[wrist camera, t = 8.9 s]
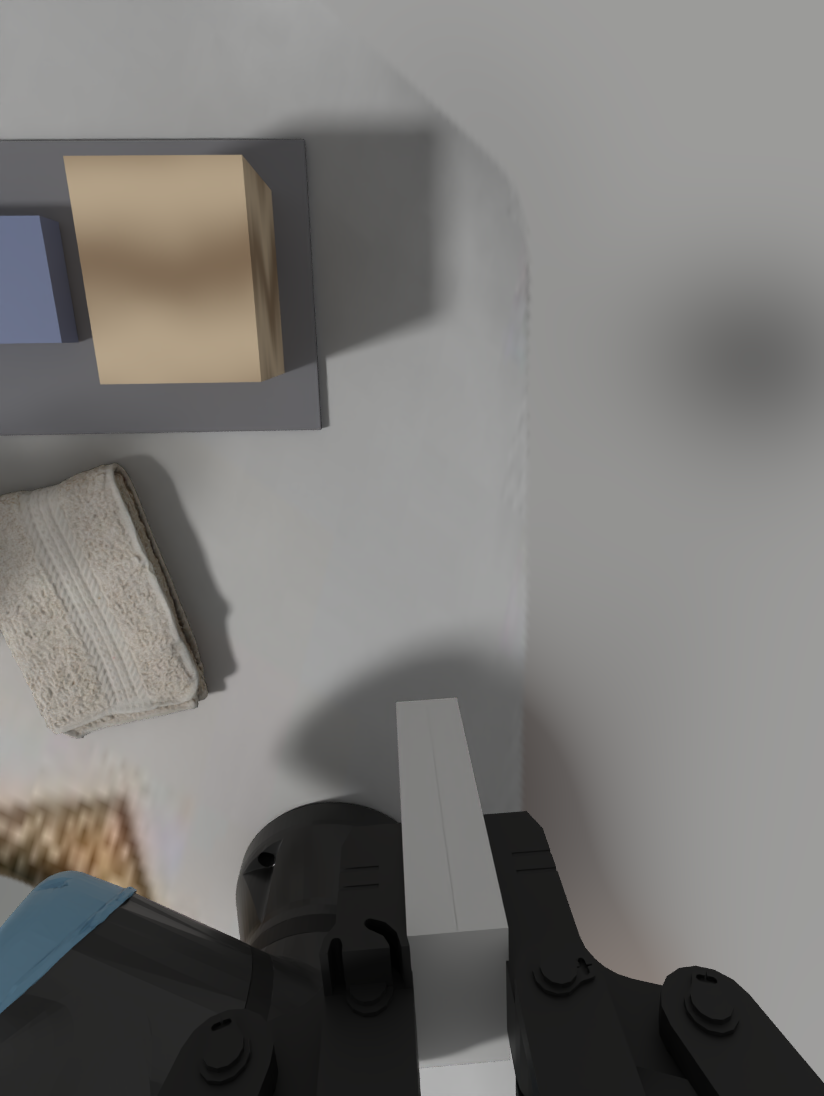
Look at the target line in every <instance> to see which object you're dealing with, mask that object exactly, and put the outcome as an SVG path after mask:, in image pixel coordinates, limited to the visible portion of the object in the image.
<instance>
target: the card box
mask: <svg viewBox="0 0 824 1096" xmlns="http://www.w3.org/2000/svg"><path fill="white" fill-rule="evenodd" d="M75 342H79V340H78V334H77V329H76V323H75V317H74V311H73V305H72V299H71V293H70V287H69V281H68V275H67V269H66V264H65V258H64V252H63V246H62V240H61V234H60V228H59V222H57V221H54V220H51V219H48V218H45V217H42V216H0V344H12V343H75Z"/></svg>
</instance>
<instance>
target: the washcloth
mask: <svg viewBox="0 0 824 1096" xmlns="http://www.w3.org/2000/svg"><path fill="white" fill-rule="evenodd" d="M0 630H1V632H2V633H3V636H4V637H5V639H6V643H7V645H8V646H9V647H10V650H11V651H12V655H13V657H14V658H15V659H16V662H17V664H18V665H19V667H20V669H21V670H22V672H23V675H24V678H25V679H26V683H27V684H28V685H29V688H30V689H31V690H32V691H33V693H32V695H33V696H34V699H35V702H36V703H37V708H39V709H40V713H41V716H43V717H44V719H45V722H46V724H47V727H49V728H50V729H51V730H52V731H53V732H54V733H55V734H61V733H63V734H65V735H67V736H70V737H72V738H76V739H78V738H84V736H85V735H87V734H89V733H90V732H92V731H96V730H100V729H103V728H106V727H110V726H116V725H122V724H125V723H130V722H135V721H139V720H144V719H149V718H154V717H159V716H163V715H168V714H171V713H175V712H180V711H184V710H188V709H195V708H197V707H198V701H200V700H204V699H205V698H206V697H207V696H208V690H207V685H206V683H205V681H204V678H205V677H204V676H203V664H202V662H200V655H199V653H198V648H197V644H196V641H195V639H194V636H193V633H192V631H191V628H190V626H189V623H188V621H187V618H186V615H185V613H184V611H183V608H182V606H181V603H180V601H179V598H178V595H177V593H176V590H175V588H174V585H173V582H172V580H171V577H170V575H169V572H168V570H167V568H166V565H165V563H164V561H163V558H162V556H161V553H160V551H159V548H158V546H157V544H156V541H155V539H154V537H153V535H152V532H151V529H150V526H149V524H148V522H147V519H146V517H145V513H144V511H143V508H142V506H141V503H140V500H139V498H138V496H137V494H136V491H135V488H134V486H133V484H132V482H131V480H130V478H129V476H128V474H127V473H126V471H125V470H124V469H123V468H122V467H121V466H120V465H118V464H116V463H113V464H111V465H101V466H99V467H97V468H94V469H92V470H89V471H84V472H81V473H79V474H76V475H74V476H72V477H71V478H69V479H65V480H64V481H63V482H62V483H60V484H56V485H54V486H48V487H45V488H39V489H36V490H34V491H18V492H13V493H8V494H4V495H1V496H0Z"/></svg>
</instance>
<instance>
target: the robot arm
mask: <svg viewBox="0 0 824 1096" xmlns="http://www.w3.org/2000/svg"><path fill="white" fill-rule="evenodd" d="M396 716H397V737H398V758H399V779H400V800H401V821H402V823H397V822H396V821H394V820H393V819H391V818H389V817H388V816H386V815H384V814H382V813H380V812H377V811H375V810H372V809H369V808H366V807H362V806H358V805H353V804H345V803H322V804H314V805H309V806H305V807H301V808H298V809H295V810H292V811H290V812H287V813H285V814H283V815H281V816H280V817H278V818H276V819H275V820H273V821H272V822H270V823H269V824H268V825H266V826H265V827H264V828H263V829H262V830H261V831H260V832H259V833H258V834H257V835H256V837H255V838H254V839H253V841H252V842H251V844H250V845H249V847H248V849H247V851H246V853H245V856H244V859H243V863H242V866H241V870H240V874H239V877H238V882H237V888H236V906H237V915H238V924H239V934H240V940H238V939H236V938H234V937H231V936H229V935H227V934H225V933H222V932H220V931H218V930H216V929H214V928H211V927H209V926H207V925H205V924H202V923H200V922H198V921H196V920H194V919H191V918H189V917H187V916H185V915H183V914H180V913H178V912H176V911H174V910H171V909H169V908H167V907H165V906H163V905H160V904H158V903H156V902H154V901H151V900H149V899H147V898H145V897H143V896H140V895H138V894H136V891H137V890H136V889H134V888H133V887H127V888H122V887H120V886H117V885H114V884H112V883H109V882H106V881H104V880H101V879H99V878H96V877H93V876H91V875H88V874H85V873H83V872H78V871H64V872H60V873H57V874H54V875H52V876H50V877H48V878H47V879H45V880H44V881H42V882H41V883H40V884H39V885H37V886H36V887H35V888H34V889H33V890H32V891H31V893H30V894H29V895H28V896H27V897H26V898H25V899H24V900H23V902H22V903H21V904H20V905H19V906H18V907H17V908H16V910H15V911H14V912H13V913H12V914H11V915H10V917H9V918H8V919H7V920H6V921H5V923H4V924H3V925H2V926H1V927H0V1096H421V1092H420V1076H419V1068H430V1067H441V1066H452V1065H463V1064H473V1063H484V1062H495V1061H506V1060H510V1048H511V1054H512V1059H513V1064H514V1069H515V1075H516V1096H824V1083H823V1082H822V1080H821V1079H820V1078H819V1077H818V1076H817V1074H816V1073H815V1072H814V1071H813V1070H812V1069H811V1067H810V1066H809V1065H808V1064H807V1063H806V1061H805V1060H804V1059H803V1058H802V1057H801V1055H800V1054H799V1053H798V1052H797V1051H796V1049H795V1048H794V1047H793V1046H792V1045H791V1044H790V1043H789V1041H788V1040H787V1039H786V1038H785V1036H784V1035H783V1034H782V1033H781V1032H780V1031H779V1029H778V1028H777V1027H776V1026H775V1025H774V1023H773V1022H772V1021H771V1020H770V1019H769V1017H768V1016H767V1015H766V1014H765V1013H764V1011H763V1010H762V1009H761V1008H760V1007H759V1005H758V1004H757V1003H756V1002H755V1001H754V1000H753V998H752V997H751V996H750V995H749V994H748V993H747V992H746V991H745V990H744V989H743V988H742V987H741V986H739V985H738V984H737V983H736V982H735V981H734V980H733V979H731V978H729V977H727V976H725V975H723V974H721V973H719V972H717V971H716V970H713V969H708V968H703V967H699V966H691V967H683V968H679V969H677V970H676V971H674V972H673V973H671V974H670V975H668V976H667V978H666V979H665V982H664V984H663V986H662V985H658V984H653V983H649V982H644V981H640V980H635V979H631V978H628V977H625V976H622V975H619V974H617V973H615V972H613V971H611V970H609V969H608V968H606V967H604V966H603V965H602V964H601V963H599V962H598V961H597V960H596V959H595V958H594V957H593V956H592V955H591V954H590V953H589V951H588V950H587V949H586V948H585V946H584V944H583V942H582V940H581V938H580V936H579V933H578V930H577V927H576V924H575V922H574V918H573V915H572V913H571V910H570V907H569V904H568V901H567V898H566V895H565V892H564V889H563V886H562V883H561V880H560V877H559V875H558V872H557V871H556V866H555V863H554V860H553V857H552V854H551V853H550V848H549V845H548V842H547V840H546V837H545V834H544V831H543V828H542V827H540V825H539V824H538V823H537V822H536V821H535V820H534V819H533V818H532V817H531V816H530V815H529V813H528V812H527V811H523V812H510V813H498V814H485V815H483V812H482V808H481V803H480V799H479V794H478V790H477V786H476V781H475V777H474V772H473V768H472V763H471V759H470V754H469V750H468V745H467V741H466V736H465V732H464V727H463V723H462V719H461V714H460V710H459V705H458V701H457V697H455V698H442V699H429V700H415V701H402V702H396Z"/></svg>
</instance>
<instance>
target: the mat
mask: <svg viewBox="0 0 824 1096" xmlns="http://www.w3.org/2000/svg"><path fill="white" fill-rule="evenodd" d="M118 155H243V157H244V158H245V159H246V160H247V162H248V163H249V164H250V165H251V166H252V168H253V169H254V170H255V171H256V172H257V174H258V175H259V176H260V177H261V178H262V180H263V181H264V182H265V183H266V184H267V186H268V187H269V188H270V189H271V193H272V206H273V220H274V234H275V247H276V261H277V274H278V288H279V302H280V315H281V329H282V343H283V356H284V370H285V373H284V374H281V375H278V376H276V377H273V378H270V379H268V380H265V381H262V382H223V383H158V384H100V379H99V373H98V367H97V361H96V355H95V349H94V342H93V336H92V330H91V324H90V318H89V312H88V306H87V300H86V293H85V287H84V281H83V275H82V269H81V263H80V257H79V250H78V244H77V238H76V232H75V226H74V220H73V214H72V207H71V201H70V195H69V189H68V183H67V177H66V171H65V164H64V158H63V156H118ZM0 216H42V217H45V218H48V219H51V220H54V221H57V222H59V228H60V234H61V240H62V246H63V252H64V258H65V264H66V269H67V275H68V281H69V287H70V293H71V299H72V305H73V311H74V317H75V323H76V329H77V334H78V340H79V342H75V343H12V344H0V435H46V434H103V433H161V432H218V431H276V430H321V416H320V398H319V381H318V363H317V346H316V328H315V311H314V294H313V276H312V259H311V241H310V224H309V206H308V189H307V172H306V154H305V141H304V139H267V140H76V141H0Z"/></svg>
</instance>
